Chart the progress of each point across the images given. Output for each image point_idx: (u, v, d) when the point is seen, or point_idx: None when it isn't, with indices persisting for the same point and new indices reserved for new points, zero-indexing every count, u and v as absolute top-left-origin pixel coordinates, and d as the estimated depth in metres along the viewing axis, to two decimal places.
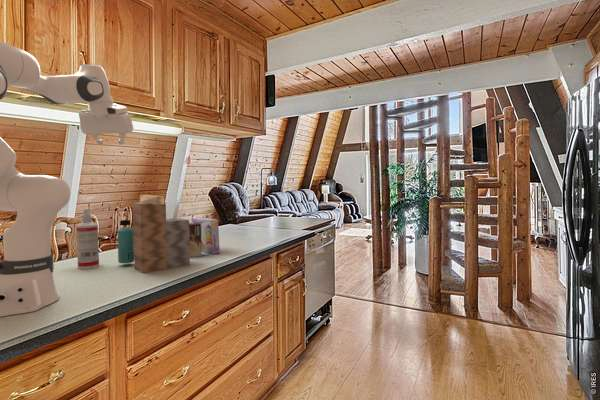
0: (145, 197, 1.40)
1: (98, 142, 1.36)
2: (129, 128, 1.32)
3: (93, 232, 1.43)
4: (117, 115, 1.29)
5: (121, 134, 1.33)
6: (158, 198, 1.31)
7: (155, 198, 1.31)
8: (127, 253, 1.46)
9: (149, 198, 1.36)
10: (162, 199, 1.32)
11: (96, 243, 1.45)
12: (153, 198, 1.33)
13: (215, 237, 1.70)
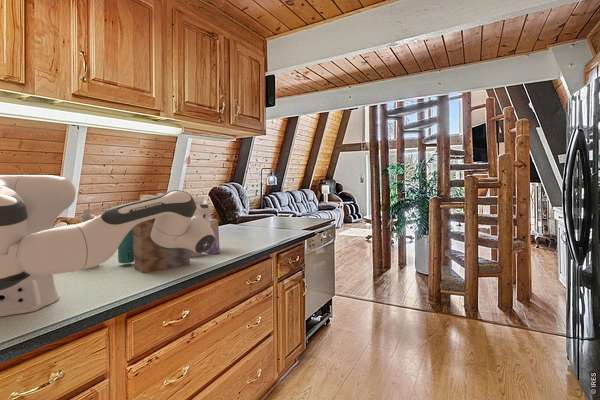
0: (145, 197, 1.40)
1: None
2: None
3: None
4: None
5: None
6: None
7: None
8: (127, 253, 1.46)
9: None
10: None
11: None
12: None
13: (215, 237, 1.70)
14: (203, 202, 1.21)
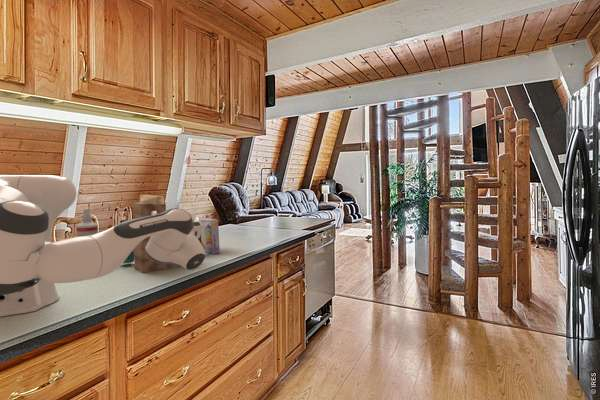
0: (145, 197, 1.40)
1: None
2: None
3: (93, 232, 1.43)
4: None
5: None
6: (158, 198, 1.31)
7: (155, 198, 1.31)
8: None
9: (149, 198, 1.36)
10: (162, 199, 1.32)
11: None
12: (153, 198, 1.33)
13: (215, 237, 1.70)
14: (195, 219, 1.28)
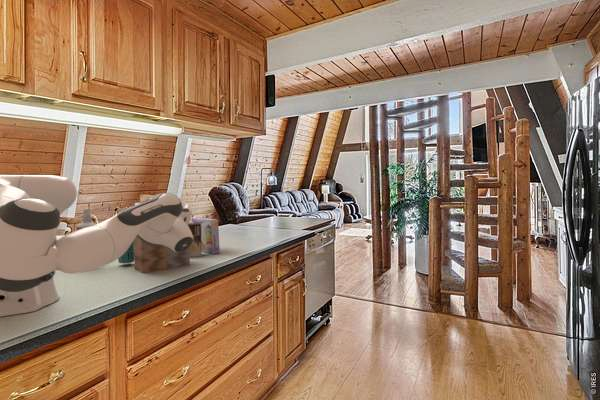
0: (145, 197, 1.40)
1: None
2: None
3: None
4: None
5: None
6: None
7: None
8: (127, 253, 1.46)
9: None
10: None
11: None
12: None
13: (215, 237, 1.70)
14: (185, 206, 1.33)
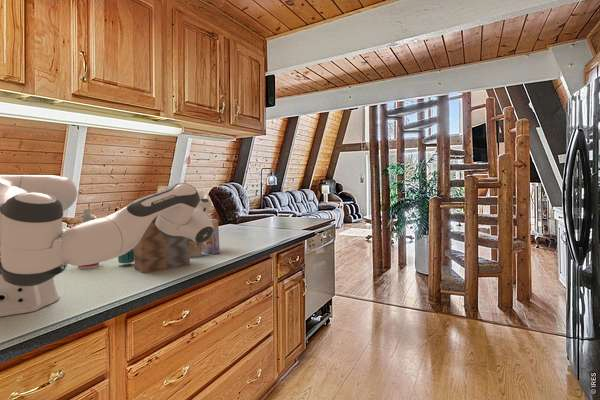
0: (163, 188, 1.38)
1: None
2: None
3: None
4: None
5: None
6: None
7: None
8: (127, 253, 1.46)
9: None
10: None
11: None
12: None
13: (215, 237, 1.70)
14: (204, 197, 1.30)
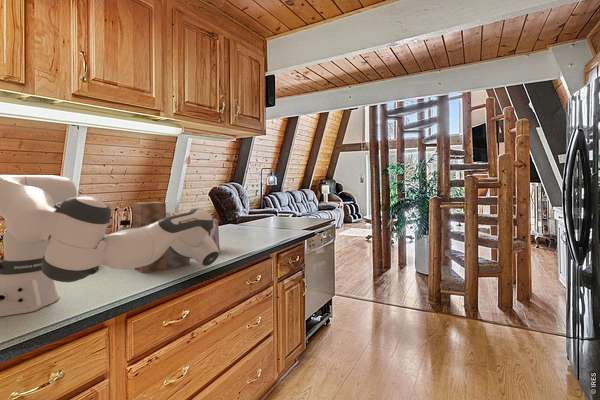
0: None
1: None
2: None
3: None
4: None
5: None
6: None
7: None
8: None
9: None
10: None
11: None
12: None
13: (215, 237, 1.70)
14: None
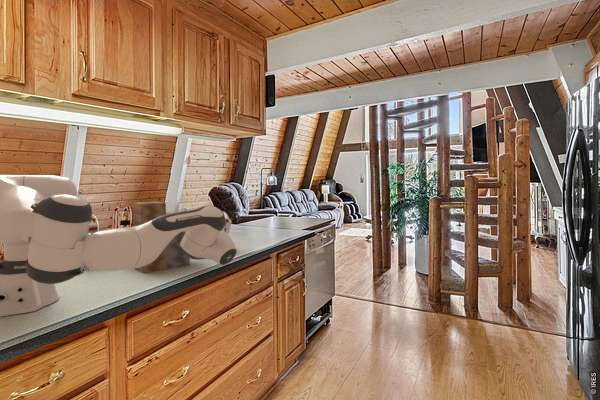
0: None
1: None
2: None
3: (93, 232, 1.43)
4: None
5: None
6: None
7: None
8: None
9: None
10: None
11: None
12: None
13: None
14: None
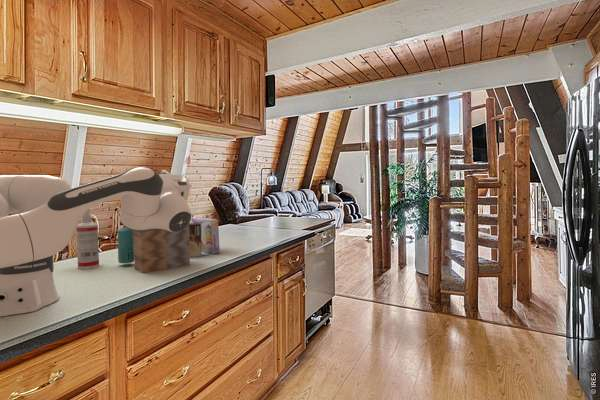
0: None
1: None
2: None
3: (93, 232, 1.43)
4: None
5: None
6: None
7: None
8: (127, 253, 1.46)
9: None
10: None
11: (96, 243, 1.45)
12: None
13: (215, 237, 1.70)
14: (182, 180, 1.12)
